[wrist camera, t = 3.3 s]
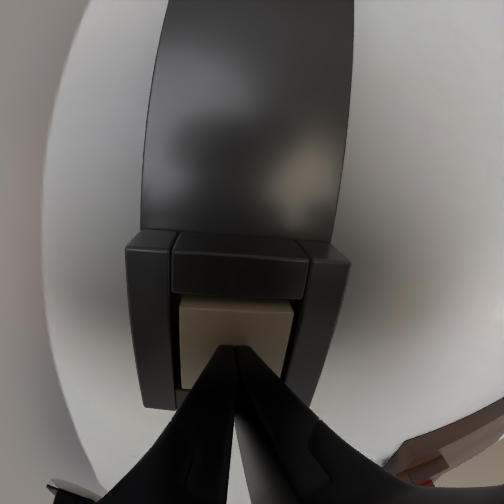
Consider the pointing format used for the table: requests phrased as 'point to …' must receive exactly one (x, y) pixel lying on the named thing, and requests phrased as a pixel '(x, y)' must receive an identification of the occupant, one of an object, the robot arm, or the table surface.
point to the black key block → (242, 177)
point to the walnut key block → (447, 446)
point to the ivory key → (231, 330)
